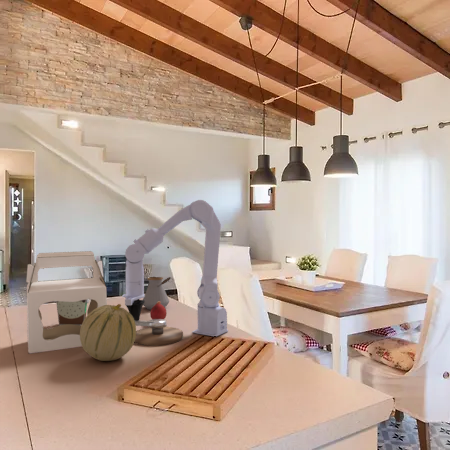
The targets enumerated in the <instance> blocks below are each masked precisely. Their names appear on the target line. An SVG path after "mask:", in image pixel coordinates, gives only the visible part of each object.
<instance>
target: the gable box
mask: <svg viewBox="0 0 450 450" xmlns="http://www.w3.org/2000/svg"><path fill="white" fill-rule="evenodd" d="M71 267H75V268H76V267H92V277H82V278H68V279H67V278H66V279H54V280H53V279H51V280H50V279H49V280H39V275H38V274H39V271H40V270H41V269H43V270H44V269H53V268H54V269H55V268H71ZM25 282H26V283H27V285H26V306H27V307H26V313H27V315H26V316H27V317H26V321H27V323H26V324H27V325H26V326H27V352H28V354H39V353H44V352H51V351H58V350H66V349H73V348H80V347H81V348H83V347H82V344H81V341H80V329H81V325H74V324H64V325H57V326H54V327H51V328H44V324H43V322H42V321H43V320H42V319H43V317H42V313H41V311H40V307H41V306H42V305H45V304H47V303H51V302H55V301H63V302H76V301H81V300H87V299H89V300H90V301H89V305H88V306H87V310H86V316H87V315H88V314H89V313H90V312H92V311H93V310H94V309H96V308H98V307H101V306H104V305H108V303H107V297H108V296H107V294H108V293H107V285H106V282H105V280H104V268H103V260H98V261H97V260H96V259H95V253H94V252H93V251H91V250H84V251H82V250H81V251H57V252H39V253H38V254H37V255H36V259H35V262H34V264H33V265H32V264H31V263H29V264H27V270H26V279H25Z"/></svg>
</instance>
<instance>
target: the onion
mask: <svg viewBox="0 0 450 450" xmlns="http://www.w3.org/2000/svg"><path fill="white" fill-rule="evenodd" d="M160 303H161V302H160V301H158V302H157V304H156V305H154V306H153V308H152V309H151V310H150V312H149V313H150V314H149V315H150V318H151V320H153V319H165V320H166V317H167V309H166V307H164V306H163V305H161V304H160Z"/></svg>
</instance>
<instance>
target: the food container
mask: <svg viewBox="0 0 450 450" xmlns="http://www.w3.org/2000/svg"><path fill="white" fill-rule="evenodd" d="M54 303H55V304H56V312H57V319H58V320H57V321H58V326H60V325H64V324H74V325H82V323H83V321H84V319H85V318H86V317H87V310H88V304H90V299H87V300H81V301H76V302H63V301H54Z"/></svg>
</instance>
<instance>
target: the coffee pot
mask: <svg viewBox="0 0 450 450" xmlns="http://www.w3.org/2000/svg"><path fill="white" fill-rule="evenodd" d="M171 279H172V280H171ZM170 280H171V282H173V281H174V279H173V278H172V277H170V276H169V277H166V278H165V279H164V277H161V276H155V277H154V276H152V277H151V276H149V277H147V281H148V285H147V288H146V291H145V292H144V295H145V297H144V298H142V300H145V302H144V304H143V307H144V308H146V310H150V311H151V309H152V308H153V306H154V305H156V304H157V302H158V301H160V302H161V303H160V304H161V305H163V306H164V307H165V308H166V307H168V305H169V303H170V298H169V297H168V295H167V292H166V290H165V287H164V284H166V283H168V282H169V283H170Z"/></svg>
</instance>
